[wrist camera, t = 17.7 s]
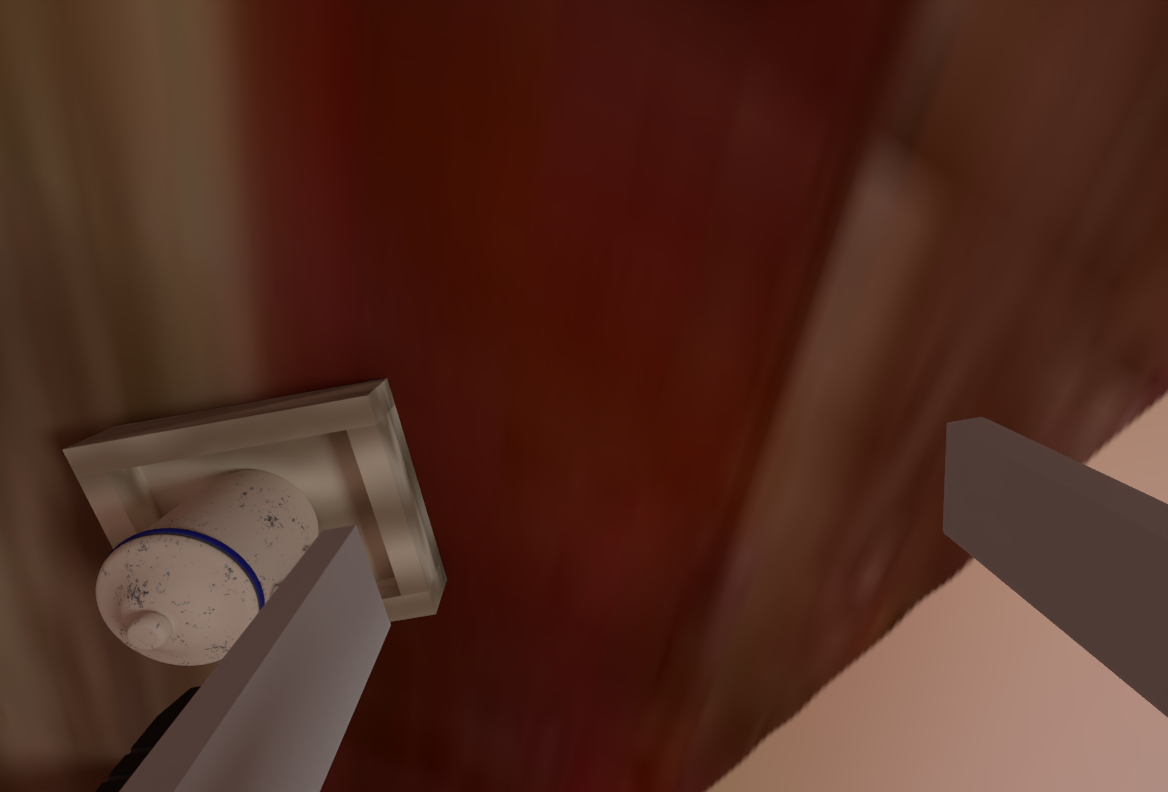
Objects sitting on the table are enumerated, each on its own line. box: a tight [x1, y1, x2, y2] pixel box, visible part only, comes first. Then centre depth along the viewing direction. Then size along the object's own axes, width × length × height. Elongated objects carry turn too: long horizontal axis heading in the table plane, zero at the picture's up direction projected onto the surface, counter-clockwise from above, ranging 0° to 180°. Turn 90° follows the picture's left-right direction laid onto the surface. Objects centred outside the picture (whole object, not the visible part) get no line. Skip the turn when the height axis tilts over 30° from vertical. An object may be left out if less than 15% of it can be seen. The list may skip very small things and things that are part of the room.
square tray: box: [62, 378, 447, 622], centre depth 39 cm, size 17×20×4 cm
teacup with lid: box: [96, 470, 318, 666], centre depth 34 cm, size 12×9×12 cm
